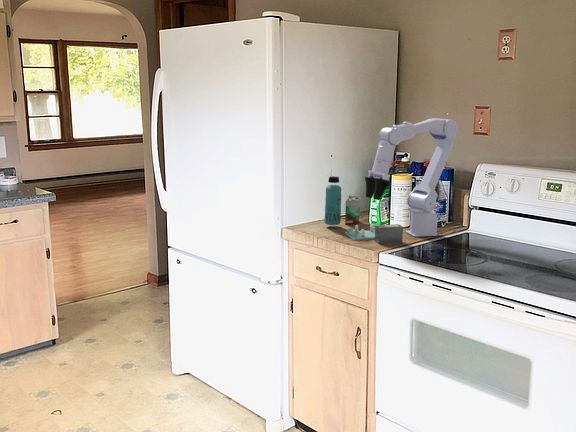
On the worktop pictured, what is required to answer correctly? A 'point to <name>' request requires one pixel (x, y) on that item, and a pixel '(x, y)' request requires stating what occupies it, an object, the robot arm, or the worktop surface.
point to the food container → (352, 210)
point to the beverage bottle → (333, 202)
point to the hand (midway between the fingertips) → (372, 198)
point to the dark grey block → (388, 234)
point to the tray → (361, 233)
